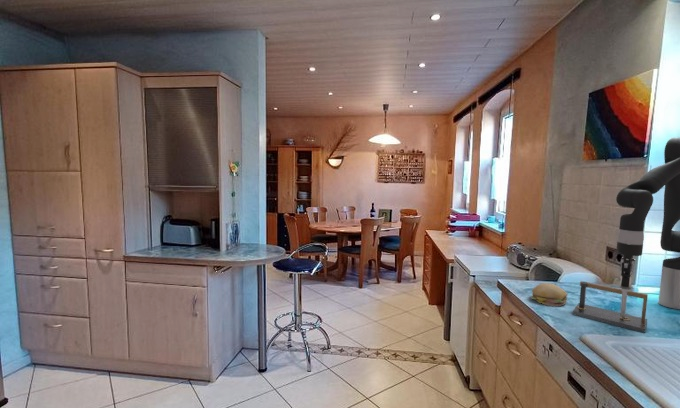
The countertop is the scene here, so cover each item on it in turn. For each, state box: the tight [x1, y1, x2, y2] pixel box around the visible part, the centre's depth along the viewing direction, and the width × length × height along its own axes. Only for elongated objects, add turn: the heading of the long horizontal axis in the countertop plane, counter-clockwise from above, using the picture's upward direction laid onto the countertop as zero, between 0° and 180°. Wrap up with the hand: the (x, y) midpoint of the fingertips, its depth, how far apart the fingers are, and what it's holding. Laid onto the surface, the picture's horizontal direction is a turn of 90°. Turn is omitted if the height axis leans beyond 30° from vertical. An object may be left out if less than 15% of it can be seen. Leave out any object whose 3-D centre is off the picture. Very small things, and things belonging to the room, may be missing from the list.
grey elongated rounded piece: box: [619, 275, 633, 317], centre depth 131 cm, size 5×3×17 cm
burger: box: [530, 282, 568, 307], centre depth 152 cm, size 13×14×8 cm
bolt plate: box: [572, 280, 649, 334], centre depth 134 cm, size 12×22×12 cm, turn 45°
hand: (625, 285), depth 130 cm, fingers closed on grey elongated rounded piece, 3 cm apart
